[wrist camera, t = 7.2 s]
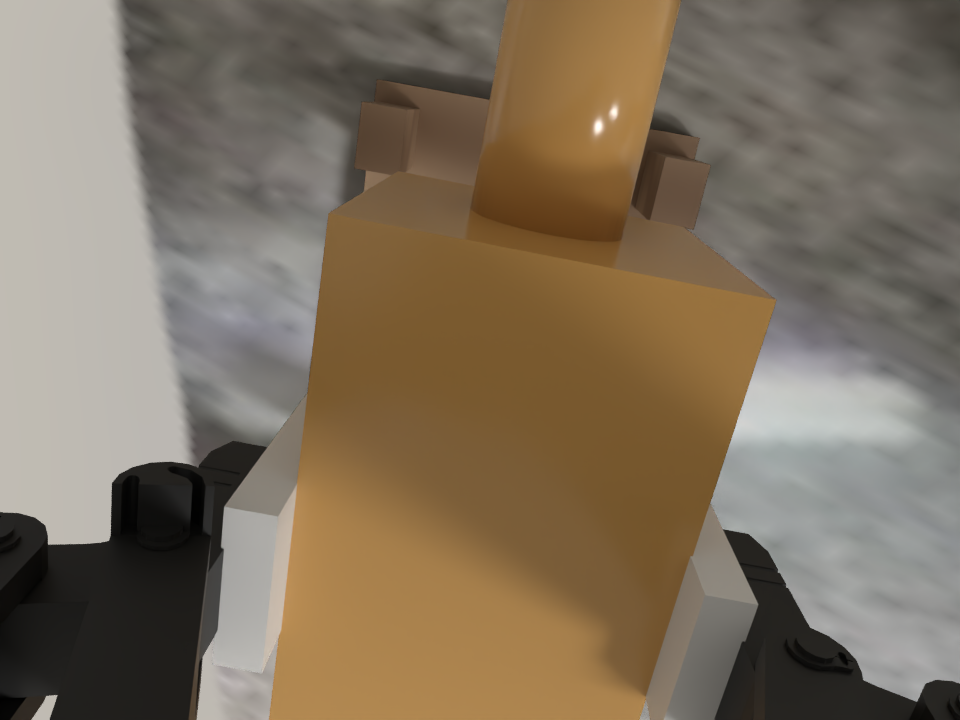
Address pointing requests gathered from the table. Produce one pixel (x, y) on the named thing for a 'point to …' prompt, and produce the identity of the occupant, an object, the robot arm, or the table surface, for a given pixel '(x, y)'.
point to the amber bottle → (513, 406)
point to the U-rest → (458, 138)
